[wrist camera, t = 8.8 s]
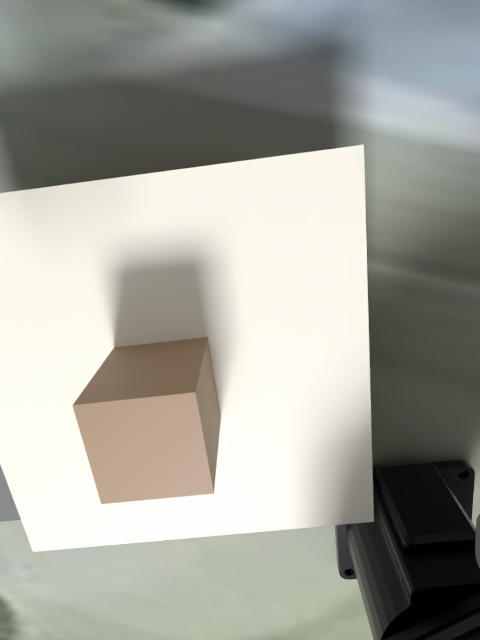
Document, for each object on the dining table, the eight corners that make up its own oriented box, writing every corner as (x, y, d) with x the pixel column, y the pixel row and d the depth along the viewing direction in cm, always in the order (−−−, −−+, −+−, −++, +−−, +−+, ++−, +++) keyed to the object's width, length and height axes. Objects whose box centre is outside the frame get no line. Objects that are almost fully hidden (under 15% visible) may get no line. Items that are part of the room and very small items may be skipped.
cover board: (369, 509, 16) (407, 615, 13) (40, 538, 17) (-20, 647, 13) (358, 145, 12) (411, 136, 8) (-82, 204, 13) (-223, 220, 9)
